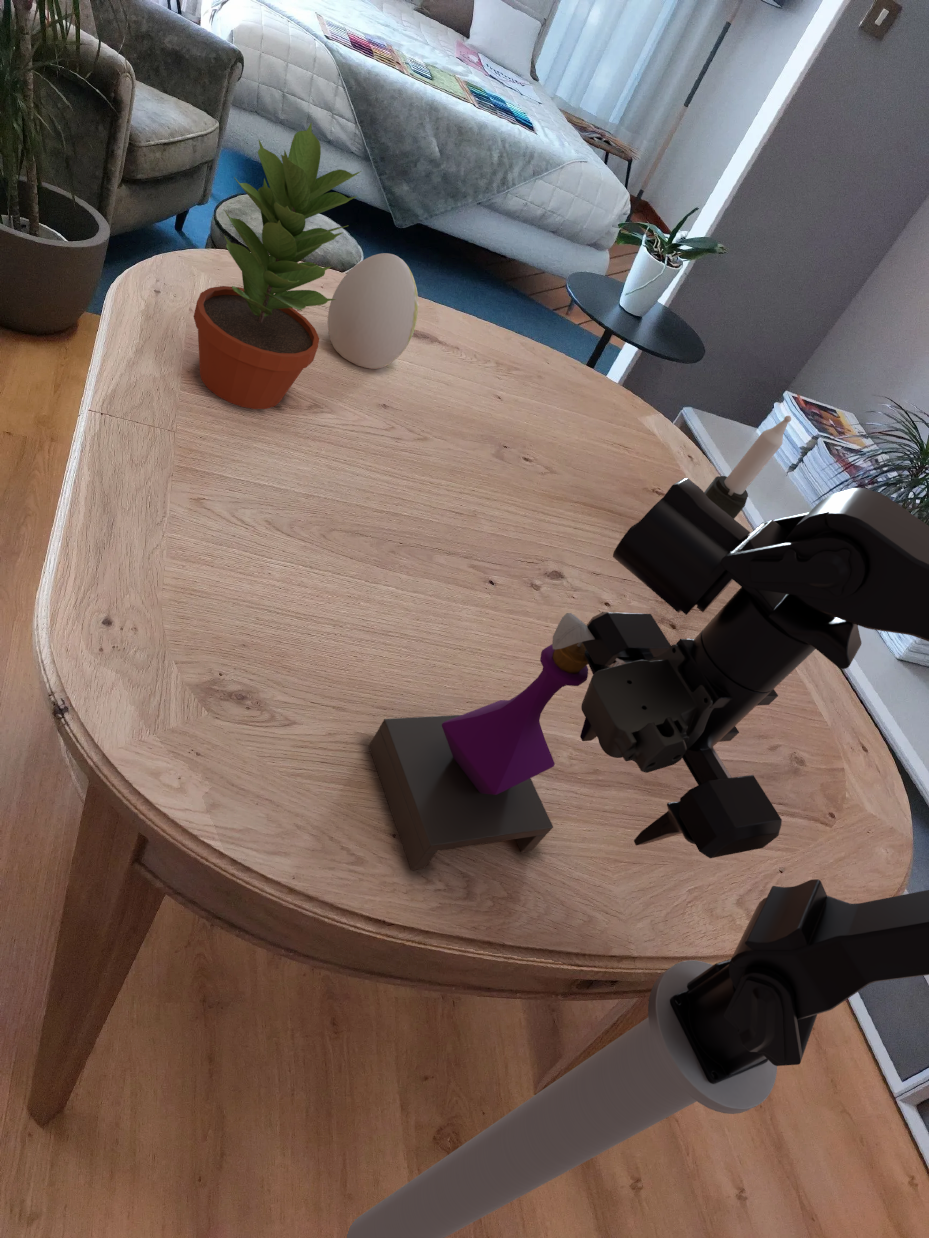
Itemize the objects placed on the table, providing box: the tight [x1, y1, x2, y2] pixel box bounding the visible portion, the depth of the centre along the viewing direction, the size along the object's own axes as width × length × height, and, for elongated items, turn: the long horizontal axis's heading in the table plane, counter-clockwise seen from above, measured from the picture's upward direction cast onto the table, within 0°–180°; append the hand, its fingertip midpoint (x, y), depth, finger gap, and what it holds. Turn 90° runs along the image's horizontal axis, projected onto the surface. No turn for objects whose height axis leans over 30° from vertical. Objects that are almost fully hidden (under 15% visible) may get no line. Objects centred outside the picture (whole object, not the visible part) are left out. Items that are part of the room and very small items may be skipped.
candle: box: [703, 415, 792, 520], centre depth 113 cm, size 5×5×25 cm
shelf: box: [368, 714, 554, 871], centre depth 72 cm, size 12×12×4 cm
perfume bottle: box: [442, 612, 595, 795], centre depth 66 cm, size 8×8×18 cm
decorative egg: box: [327, 252, 419, 370], centre depth 118 cm, size 12×12×15 cm
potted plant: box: [193, 122, 362, 410], centre depth 95 cm, size 15×15×30 cm
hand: (611, 788), depth 63 cm, fingers open, 9 cm apart
